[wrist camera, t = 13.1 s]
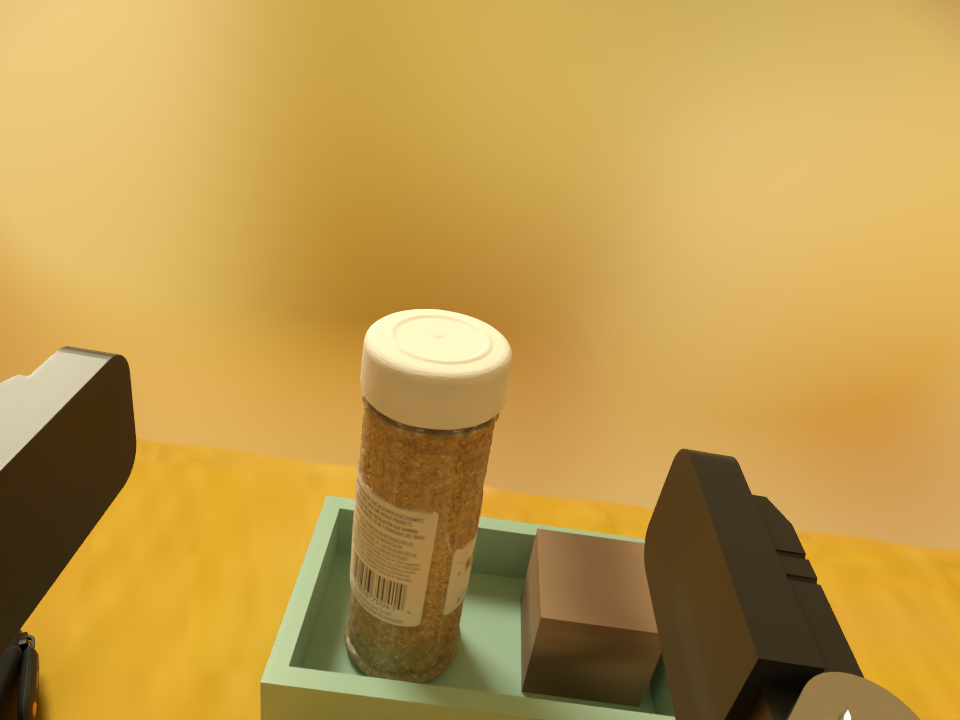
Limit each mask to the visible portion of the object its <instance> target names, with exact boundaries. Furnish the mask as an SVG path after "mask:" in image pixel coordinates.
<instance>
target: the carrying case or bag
mask: <svg viewBox="0 0 960 720" xmlns="http://www.w3.org/2000/svg"><path fill="white" fill-rule="evenodd" d="M29 640H31V641H32V644H31V641H29ZM34 648H35V638H34V637H33V636H31V635H28V633H27V632H24V633H22V631H21V629H20V630H19V631H18V633H17V634H16V636H15V637H14V638H13V640H12V641H11V642H10V644H9V645H8V647H7V648H6V649H5V651H4V652H3V653H2V655H1V656H0V720H5V718H6V715H7V713H8V710H9V708H10V705H11V703H12V701H13V698H14V696H15V693H16V691H17V688H18V694H17V716H18V720H35V716H36V707H37V698H38V686H39V658H38V653H37V652H36V650H35V649H34Z"/></svg>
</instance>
